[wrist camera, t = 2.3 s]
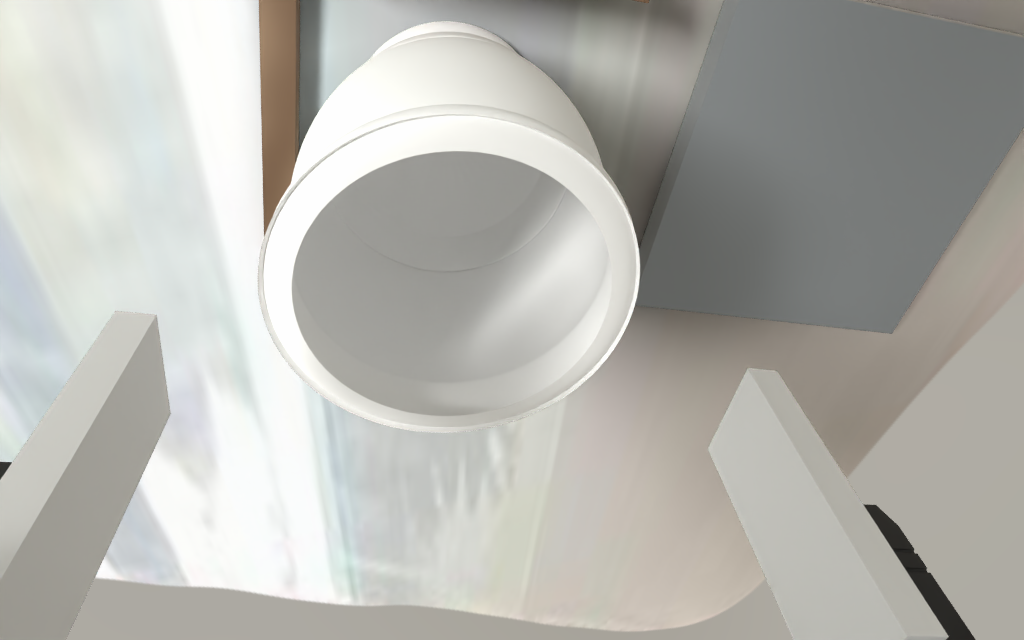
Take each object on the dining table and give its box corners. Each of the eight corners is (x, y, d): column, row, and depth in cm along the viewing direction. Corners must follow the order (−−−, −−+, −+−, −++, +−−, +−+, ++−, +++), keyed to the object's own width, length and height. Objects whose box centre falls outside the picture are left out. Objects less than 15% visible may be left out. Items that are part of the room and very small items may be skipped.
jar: (425, 256, 35) (421, 482, 22) (277, 93, 29) (166, 274, 17) (602, 140, 32) (705, 325, 20) (474, -66, 26) (509, 15, 14)
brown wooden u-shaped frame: (268, 251, 33) (251, 295, 30) (261, -134, 24) (235, -130, 21) (546, 283, 36) (557, 326, 33) (633, -54, 27) (660, -39, 24)
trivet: (625, 289, 37) (631, 305, 36) (733, -28, 28) (746, -22, 27) (878, 318, 40) (891, 333, 39) (1048, 40, 31) (1073, 48, 30)
